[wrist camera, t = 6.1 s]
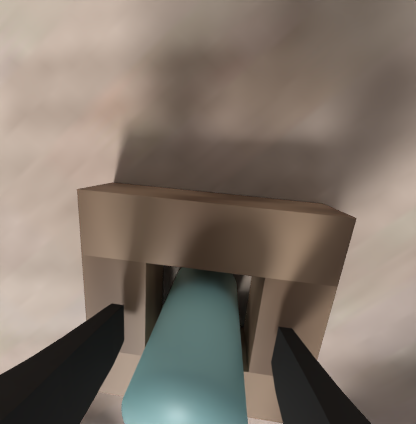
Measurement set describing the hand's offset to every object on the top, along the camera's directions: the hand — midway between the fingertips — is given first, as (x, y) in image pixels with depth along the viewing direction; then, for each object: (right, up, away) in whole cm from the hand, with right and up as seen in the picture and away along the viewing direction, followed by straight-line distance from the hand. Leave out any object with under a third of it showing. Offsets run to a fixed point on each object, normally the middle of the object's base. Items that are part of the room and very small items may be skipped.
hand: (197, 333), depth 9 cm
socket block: (0, +1, +4) cm, 4 cm away
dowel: (0, +1, +4) cm, 4 cm away
